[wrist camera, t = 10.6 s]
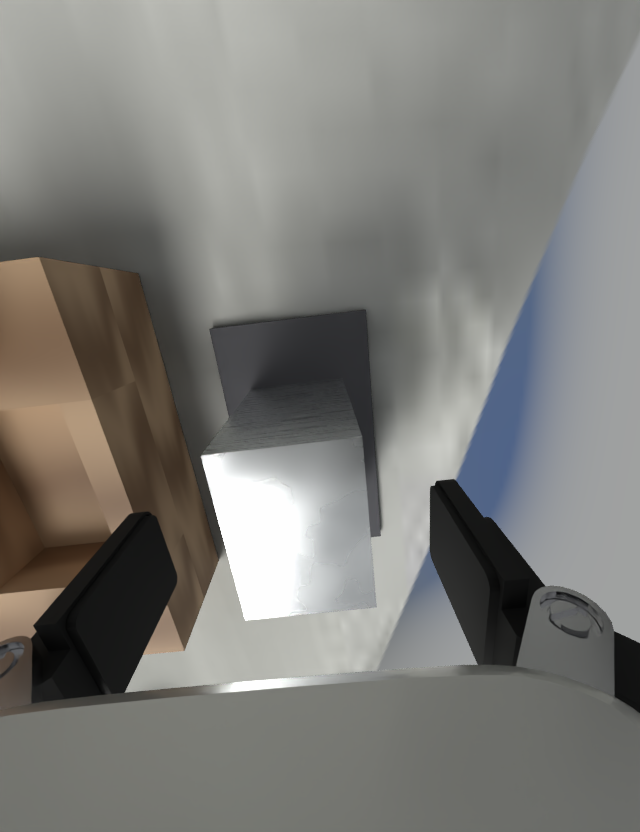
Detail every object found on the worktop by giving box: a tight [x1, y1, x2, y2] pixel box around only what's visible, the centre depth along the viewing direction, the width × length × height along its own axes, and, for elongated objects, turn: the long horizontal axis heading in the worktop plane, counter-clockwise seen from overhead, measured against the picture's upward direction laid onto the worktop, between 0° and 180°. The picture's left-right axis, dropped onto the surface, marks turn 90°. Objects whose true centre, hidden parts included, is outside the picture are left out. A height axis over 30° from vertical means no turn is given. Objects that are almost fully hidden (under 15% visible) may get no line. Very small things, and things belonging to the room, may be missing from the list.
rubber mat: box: [209, 310, 381, 537], centre depth 19 cm, size 14×8×1 cm, turn 7°
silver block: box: [201, 379, 377, 620], centre depth 15 cm, size 7×5×8 cm
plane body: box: [0, 257, 219, 655], centre depth 14 cm, size 18×9×10 cm, turn 7°
